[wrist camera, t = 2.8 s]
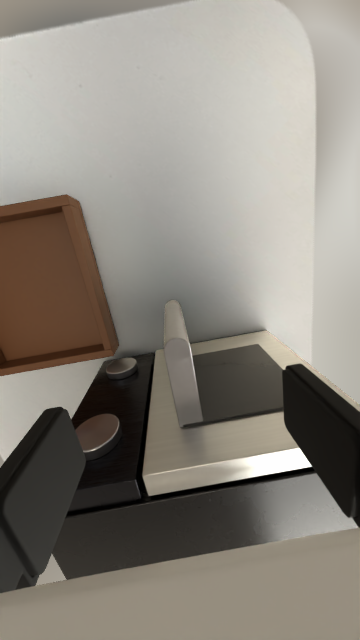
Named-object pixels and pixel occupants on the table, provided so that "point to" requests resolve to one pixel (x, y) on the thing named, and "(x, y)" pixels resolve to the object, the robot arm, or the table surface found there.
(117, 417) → the microwave
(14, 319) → the tray
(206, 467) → the microwave door
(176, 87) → the table surface
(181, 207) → the table surface
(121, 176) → the table surface
